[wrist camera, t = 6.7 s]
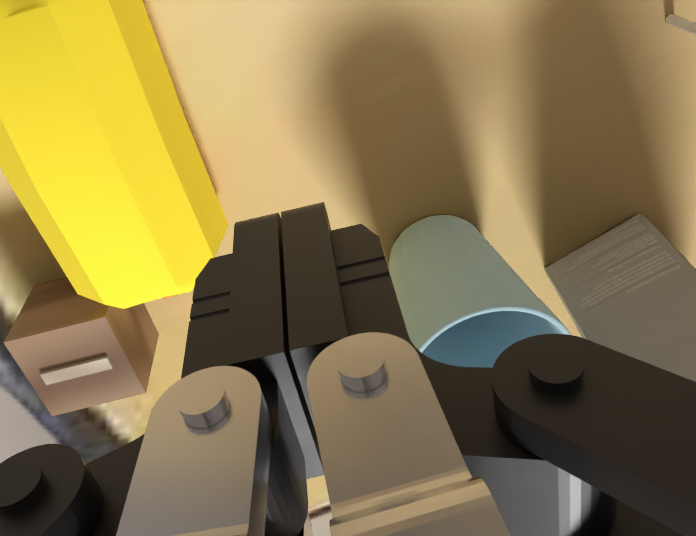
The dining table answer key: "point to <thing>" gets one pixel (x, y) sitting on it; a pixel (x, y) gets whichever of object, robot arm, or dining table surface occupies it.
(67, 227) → the yellow banana
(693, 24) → the lollipop
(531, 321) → the cup
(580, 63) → the dining table surface
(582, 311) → the skincare box
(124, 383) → the walnut numbered block
